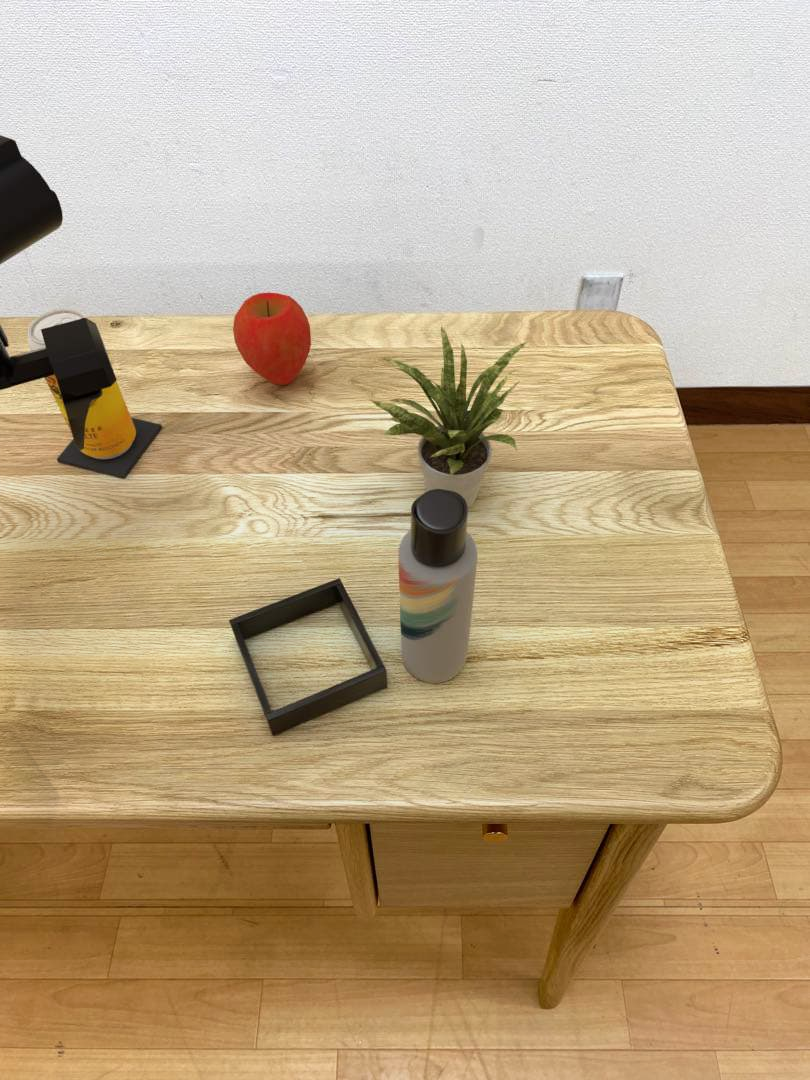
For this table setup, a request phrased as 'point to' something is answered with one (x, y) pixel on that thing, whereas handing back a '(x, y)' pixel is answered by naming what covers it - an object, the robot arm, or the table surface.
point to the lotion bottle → (436, 586)
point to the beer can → (107, 414)
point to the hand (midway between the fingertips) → (24, 463)
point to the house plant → (453, 423)
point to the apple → (273, 336)
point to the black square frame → (292, 611)
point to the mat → (117, 464)
